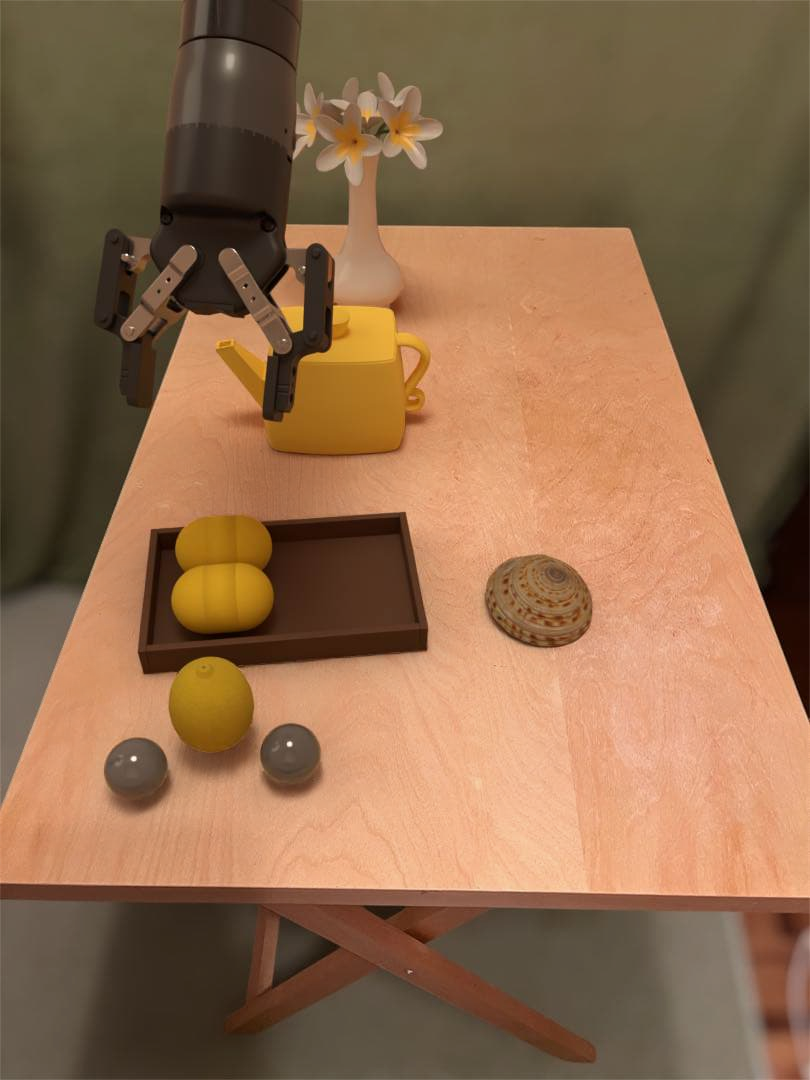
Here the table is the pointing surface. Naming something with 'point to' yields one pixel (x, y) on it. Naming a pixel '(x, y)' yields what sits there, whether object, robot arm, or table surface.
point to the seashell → (539, 600)
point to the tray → (301, 596)
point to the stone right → (290, 753)
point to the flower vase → (365, 176)
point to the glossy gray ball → (135, 768)
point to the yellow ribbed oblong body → (222, 598)
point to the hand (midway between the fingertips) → (205, 413)
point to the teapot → (341, 385)
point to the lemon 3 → (211, 704)
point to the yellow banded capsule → (223, 542)
